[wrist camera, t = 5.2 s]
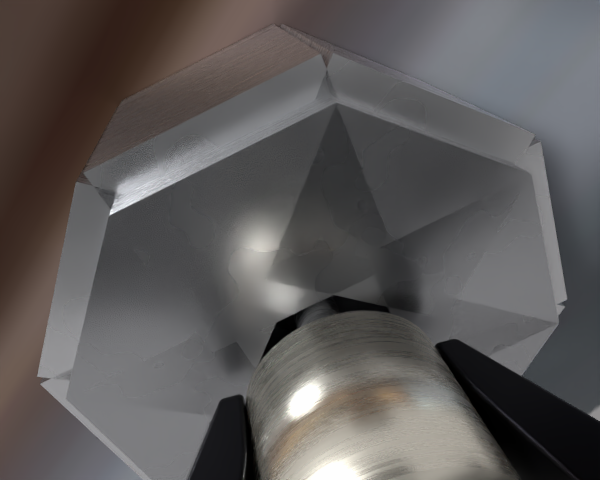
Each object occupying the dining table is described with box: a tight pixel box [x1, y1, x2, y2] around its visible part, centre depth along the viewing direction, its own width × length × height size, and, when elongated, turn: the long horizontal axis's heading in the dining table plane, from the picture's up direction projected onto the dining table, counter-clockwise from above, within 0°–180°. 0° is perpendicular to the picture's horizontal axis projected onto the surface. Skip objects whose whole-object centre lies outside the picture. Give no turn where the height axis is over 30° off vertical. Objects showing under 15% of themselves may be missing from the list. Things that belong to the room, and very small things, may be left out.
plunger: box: [246, 295, 521, 480], centre depth 10 cm, size 8×8×9 cm
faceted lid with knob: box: [37, 24, 567, 480], centre depth 12 cm, size 10×13×6 cm
